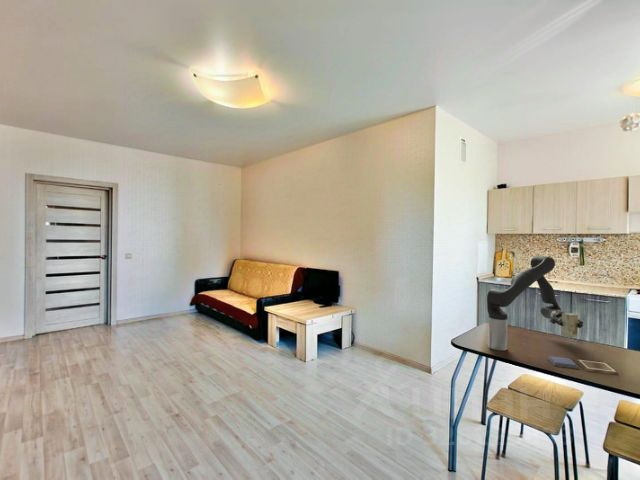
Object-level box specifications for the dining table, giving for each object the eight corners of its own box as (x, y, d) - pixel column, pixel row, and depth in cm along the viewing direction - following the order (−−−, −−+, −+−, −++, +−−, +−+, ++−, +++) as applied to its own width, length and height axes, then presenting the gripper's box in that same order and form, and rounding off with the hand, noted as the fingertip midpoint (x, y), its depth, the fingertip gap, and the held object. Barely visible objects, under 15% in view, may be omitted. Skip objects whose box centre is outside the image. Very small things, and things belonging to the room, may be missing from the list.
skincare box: (568, 338, 163) (569, 315, 163) (560, 335, 167) (561, 313, 167) (577, 337, 165) (578, 314, 165) (569, 334, 169) (570, 312, 169)
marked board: (586, 370, 148) (586, 368, 148) (576, 361, 159) (576, 358, 159) (618, 375, 143) (618, 372, 143) (605, 365, 154) (606, 362, 154)
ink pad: (553, 365, 153) (553, 362, 153) (547, 358, 162) (547, 355, 162) (578, 369, 149) (578, 366, 149) (570, 361, 159) (571, 358, 159)
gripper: (545, 309, 182) (554, 316, 167) (575, 312, 177) (588, 319, 161) (545, 322, 182) (554, 330, 167) (575, 325, 177) (587, 334, 161)
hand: (571, 325), depth 164 cm, fingers closed on skincare box, 7 cm apart
